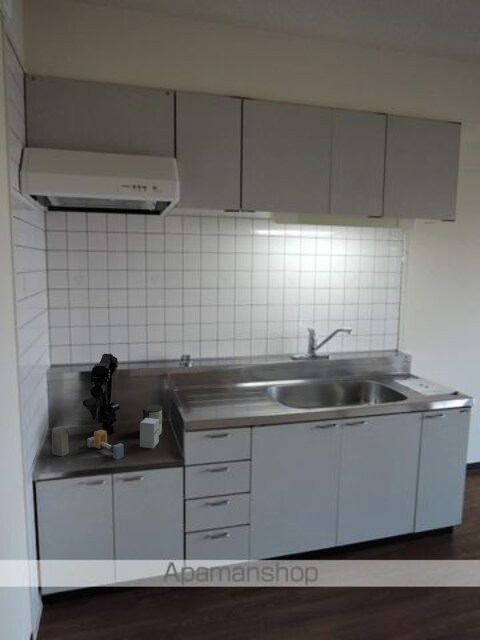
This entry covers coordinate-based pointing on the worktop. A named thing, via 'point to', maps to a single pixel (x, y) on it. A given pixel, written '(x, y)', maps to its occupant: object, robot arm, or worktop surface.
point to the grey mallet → (115, 449)
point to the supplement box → (149, 432)
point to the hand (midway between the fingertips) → (101, 421)
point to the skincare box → (60, 441)
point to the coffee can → (153, 413)
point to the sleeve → (97, 438)
